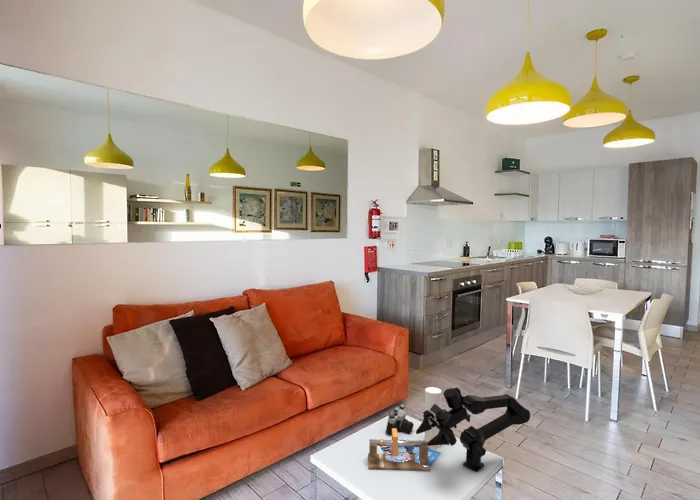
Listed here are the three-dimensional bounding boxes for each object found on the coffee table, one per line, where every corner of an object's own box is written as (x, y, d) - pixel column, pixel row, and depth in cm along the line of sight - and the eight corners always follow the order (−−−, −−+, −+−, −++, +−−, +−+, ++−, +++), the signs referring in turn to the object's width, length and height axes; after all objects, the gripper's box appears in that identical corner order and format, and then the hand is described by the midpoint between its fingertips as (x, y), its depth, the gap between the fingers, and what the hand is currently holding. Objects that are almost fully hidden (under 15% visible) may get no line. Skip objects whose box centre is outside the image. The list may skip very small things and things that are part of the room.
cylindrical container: (439, 440, 178) (440, 387, 177) (441, 449, 171) (442, 393, 170) (423, 439, 179) (424, 386, 178) (425, 448, 172) (426, 393, 171)
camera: (402, 442, 179) (406, 423, 177) (382, 432, 184) (386, 413, 183) (415, 429, 191) (418, 411, 190) (395, 420, 197) (399, 402, 195)
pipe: (426, 445, 161) (426, 439, 161) (427, 448, 158) (427, 442, 158) (369, 443, 162) (369, 437, 162) (369, 447, 159) (369, 441, 159)
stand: (426, 457, 165) (426, 437, 164) (430, 471, 155) (430, 450, 154) (368, 455, 166) (368, 436, 165) (368, 469, 156) (368, 449, 155)
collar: (396, 446, 164) (396, 428, 163) (397, 456, 157) (398, 436, 156) (391, 446, 164) (391, 428, 163) (392, 456, 157) (393, 436, 156)
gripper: (434, 391, 163) (403, 411, 159) (459, 410, 145) (426, 433, 141) (443, 413, 164) (413, 433, 160) (469, 435, 147) (436, 458, 143)
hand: (421, 438), depth 151 cm, fingers open, 9 cm apart
